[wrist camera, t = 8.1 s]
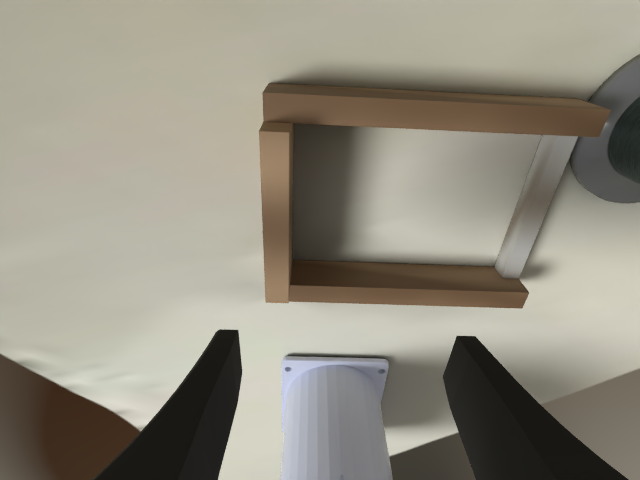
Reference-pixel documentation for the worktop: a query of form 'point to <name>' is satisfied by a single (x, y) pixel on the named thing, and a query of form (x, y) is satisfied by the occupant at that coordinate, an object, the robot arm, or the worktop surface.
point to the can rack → (412, 113)
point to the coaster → (592, 151)
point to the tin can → (626, 143)
